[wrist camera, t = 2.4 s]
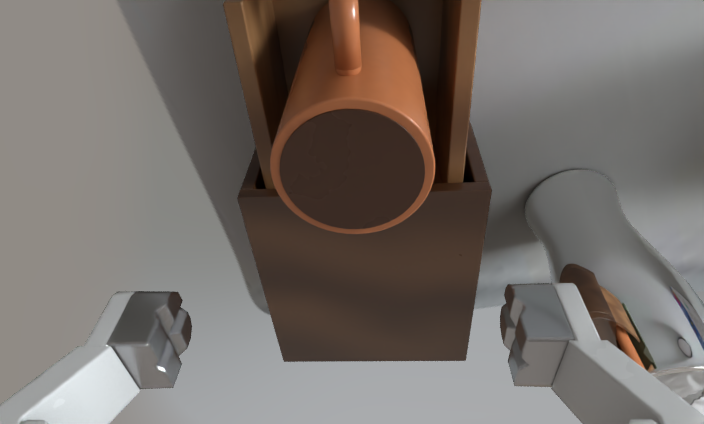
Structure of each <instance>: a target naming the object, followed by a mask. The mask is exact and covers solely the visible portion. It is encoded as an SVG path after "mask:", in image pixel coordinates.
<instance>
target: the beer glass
mask: <svg viewBox="0 0 704 424" xmlns="http://www.w3.org/2000/svg"><path fill="white" fill-rule="evenodd" d="M525 217H526V221H527V223H528V225H529V226H530V228H531V229H532V231H533V232H534V234H535V235H536V236H537V238H538V239H539V240H540V242H541V244H542V245H543V248H544V250H545V253H546V256H547V259H548V265H549V270H550V278H551V283H573V284H575V285H576V286H577V289H578V291H579V293H580V295H581V297H582V300H583V302H584V304H585V306H586V308H587V311H588V313H589V315H590V317H591V319H592V322H593V324H594V326H595V328H596V330H597V333H598V335H599V337H600V339H601V340H608V341H609V342H610V343H612V344H613V345H614V346H616V347H617V348H618V349H619V350H621V351H622V352H623V353H625V354H626V355H627V356H628V357H630V358H631V359H632V360H634V361H635V362H636V363H637V364H639V365H640V366H641V367H643V368H644V369H645V370H646V371H648V372H649V373H650V374H651V375H653V376H654V377H655V378H657V379H658V380H659V381H660V382H662V383H663V384H664V385H666V386H667V387H668V388H669V389H671V390H672V391H673V392H675V393H676V394H677V395H678V396H680V397H681V398H682V399H683V400H685V401H686V402H687V403H689V404H690V405H691V406H692V407H694V408H695V409H696V410H698V411H699V412H700V413H701V414H703V415H704V304H703V302H702V301H701V299H700V298H699V297H698V295H697V294H696V292H695V291H694V290H693V288H692V287H691V286H690V284H689V283H688V282H687V281H686V280H685V279H684V278H683V276H682V275H681V274H680V273H679V272H678V271H677V270H676V269H675V268H674V267H673V265H672V264H671V263H670V262H669V261H668V260H667V259H666V258H665V257H664V256H663V255H662V254H661V253H660V252H659V251H657V250H656V249H655V248H654V247H653V246H652V245H651V244H650V243H649V242H648V241H647V240H646V239H645V238H644V237H643V236H642V235H641V234H640V233H639V232H638V231H637V230H636V229H635V228H634V227H633V226H632V224H631V223H630V222H629V220H628V219H627V217H626V216H625V214H624V212H623V209H622V207H621V203H620V200H619V197H618V194H617V191H616V188H615V186H614V185H613V183H612V182H611V180H610V179H609V178H607V177H606V176H605V175H603V174H601V173H599V172H597V171H593V170H588V169H575V170H569V171H564V172H561V173H558V174H556V175H553V176H551V177H549V178H548V179H546V180H545V181H543V182H542V183H540V184H539V185H538V186H537V187H536V188H535V189H534V190H533V191H532V193H531V194H530V196H529V197H528V199H527V202H526V205H525Z"/></svg>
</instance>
